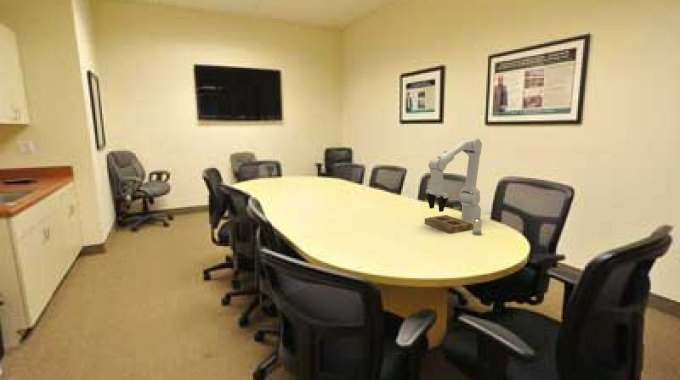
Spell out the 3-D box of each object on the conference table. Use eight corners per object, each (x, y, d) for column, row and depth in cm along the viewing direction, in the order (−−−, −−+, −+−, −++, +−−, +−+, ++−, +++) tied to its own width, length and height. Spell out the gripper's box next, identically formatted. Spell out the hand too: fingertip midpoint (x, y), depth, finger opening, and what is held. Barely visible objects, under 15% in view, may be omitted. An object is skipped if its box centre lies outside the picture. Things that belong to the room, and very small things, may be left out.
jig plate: (446, 220, 203) (446, 214, 203) (472, 229, 185) (472, 223, 185) (424, 223, 198) (424, 218, 197) (449, 233, 180) (449, 227, 179)
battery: (476, 232, 181) (477, 217, 180) (483, 234, 177) (483, 219, 176) (470, 233, 180) (470, 218, 178) (476, 235, 176) (477, 220, 175)
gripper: (421, 181, 189) (421, 207, 191) (439, 185, 176) (438, 214, 178) (433, 180, 192) (432, 206, 194) (451, 184, 178) (450, 212, 181)
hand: (436, 209), depth 186 cm, fingers open, 7 cm apart
